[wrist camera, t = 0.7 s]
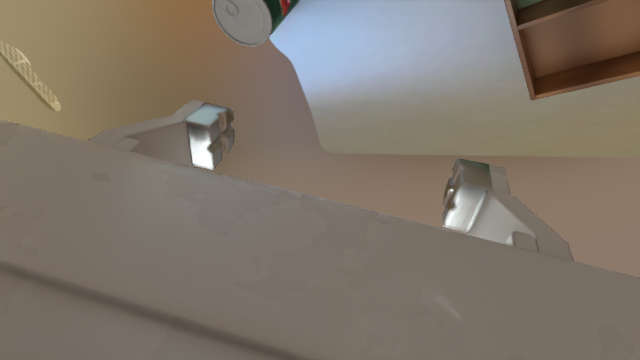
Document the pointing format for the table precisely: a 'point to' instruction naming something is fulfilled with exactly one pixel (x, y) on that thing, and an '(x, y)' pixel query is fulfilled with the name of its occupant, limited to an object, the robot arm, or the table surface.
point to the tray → (575, 42)
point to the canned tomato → (250, 18)
